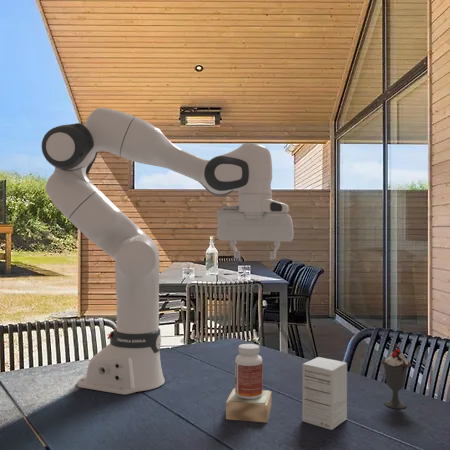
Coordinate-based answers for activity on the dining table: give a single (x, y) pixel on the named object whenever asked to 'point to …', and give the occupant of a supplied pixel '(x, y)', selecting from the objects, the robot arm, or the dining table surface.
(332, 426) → the supplement box
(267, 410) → the plinth
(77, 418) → the dining table surface
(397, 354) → the sundae
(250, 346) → the pill bottle
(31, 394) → the dining table surface
